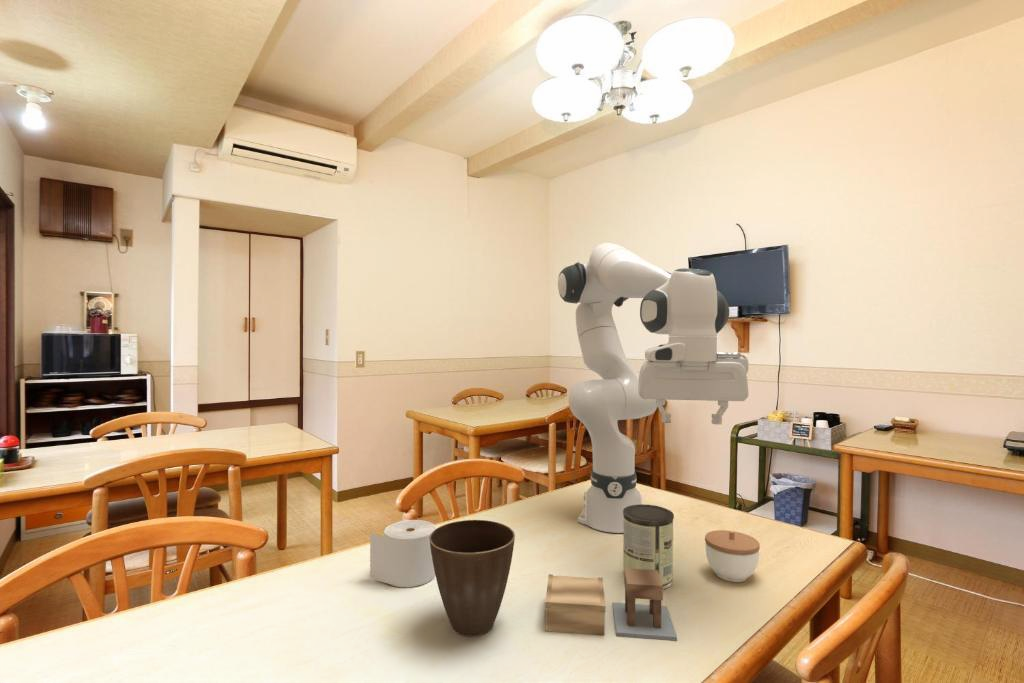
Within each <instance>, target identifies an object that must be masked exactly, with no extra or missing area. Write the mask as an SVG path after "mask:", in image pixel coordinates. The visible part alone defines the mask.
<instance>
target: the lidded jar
mask: <svg viewBox="0 0 1024 683" xmlns="http://www.w3.org/2000/svg"><path fill="white" fill-rule="evenodd" d="M704 541H705V543H704V544H705V555H706V558H707V559H706V560H707V562H708V564H709V566H710V568H711V570H712V571H714V573H715V574H716V577H718V578H720V579H722V580H724V581H727V582H731V583H742V582H743V583H744V582H745V581H747V580H748V578H749V577H751V576H752V575H753V574H754V573H755V571H756V569H757V567H758V563H759V556H760V543H759V541H758V540H757V539H756V537H755V538H754V537H753V536H752V535H748V534H745V533H743V532H739V531H735V530H725V529H724V530H722V529H720V530H719V529H718V530H712V531H709V532H707V533H706V534H705V535H704Z"/></svg>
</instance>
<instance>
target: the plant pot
mask: <svg viewBox="0 0 1024 683" xmlns="http://www.w3.org/2000/svg"><path fill="white" fill-rule="evenodd" d="M515 538H516V534H515V531H514V530H513V529H512V528H511V527H509V526H508V525H506V524H503V523H501V522H496V521H491V520H485V519H483V520H482V519H467V520H466V519H463V520H457V521H453V522H449V523H445V524H443V525H441V526H439V527H437V528H436V529H435V530H434V531H433V532H432V533H431V534H430V537H429V541H430V548H431V554H432V561H433V566H434V571H435V576H434V577H435V579H436V583H437V587H438V591H439V594H440V599H441V601H442V604H443V607H444V610H445V613H446V615H447V618H448V621H449V624H450V626H451V628H452V630H453V631H454V632H455V633H456V634H458V635H460V636H465V637H476V636H481V635H482V636H483V635H485V634H486V633H488V632H489V631H491V630H492V629H493V627H494V624H495V622H496V621H497V620H496V619H497V617H498V614H499V611H500V608H501V606H502V602H503V599H504V595H505V592H506V588H507V583H508V579H509V575H510V571H511V565H512V559H513V554H514V546H515V540H516V539H515Z"/></svg>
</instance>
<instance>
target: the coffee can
mask: <svg viewBox="0 0 1024 683" xmlns="http://www.w3.org/2000/svg"><path fill="white" fill-rule="evenodd" d="M623 515H624V530H623V533H622V534H623V540H622V541H623V547H622V548H623V549H622V550H623V556H622V557H623V562H622V564H623V565H622V566H623V572H622V577H623V579H624V568H628V569H645V570H658V573H659V576H660V579H661V582H662V585H663V590H665V589H668V588H670V587H671V586H672V585H673V583H674V579H673V578H674V577H673V576H674V574H673V573H674V572H673V570H674V560H673V559H674V553H673V552H674V519H675V514H674V513H673V512H672V510H670V509H668V508H666V507H662V506H659V505H652V504H643V503H642V504H640V505H631V506H628V507H626V508H624V509H623Z"/></svg>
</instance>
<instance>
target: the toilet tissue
mask: <svg viewBox="0 0 1024 683" xmlns="http://www.w3.org/2000/svg"><path fill="white" fill-rule="evenodd" d="M435 529H437V528H436V525H435V524H434V523H432V522H430V521H427V520H426V521H425V520H420V519H410V520H409V519H407V520H405V519H404V520H400V521H397V522H394V523H391V524H389V525H388V526H386V528H384V532H383V533H384V534H383V535H380V534H377V533H374V532H372V531H370V532H369V535H370V539H369V541H370V542H369V544H370V546H369V547H370V548H369V550H370V551H369V552H370V553H369V554H370V555H369V558H370V560H369V562H370V564H369V566H370V568H369V569H370V570H369V577H370V578H372V579H374V580H375V581H378V582H381V583H384V584H388V585H390V586H393V587H397V588H414V587H418V585H419V586H422V585H425V584H427V583H429V582H430V581H432V580H433V579H434V578H435V577H436V576H435V571H434V566H433V561H432V554H431V548H430V541H429V537H430V534H431V533H432V532H433V531H434V530H435Z"/></svg>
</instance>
